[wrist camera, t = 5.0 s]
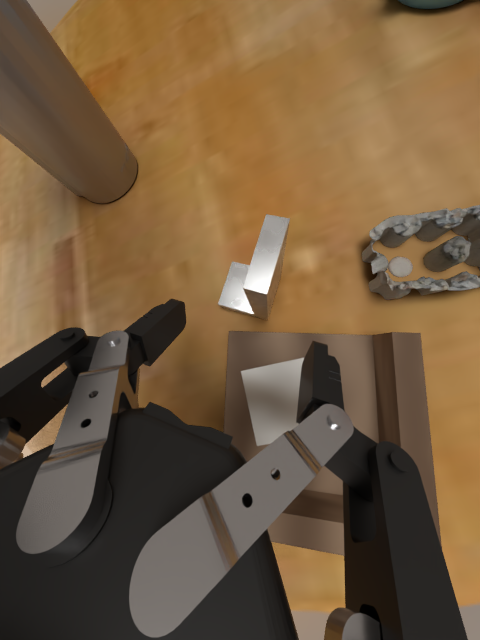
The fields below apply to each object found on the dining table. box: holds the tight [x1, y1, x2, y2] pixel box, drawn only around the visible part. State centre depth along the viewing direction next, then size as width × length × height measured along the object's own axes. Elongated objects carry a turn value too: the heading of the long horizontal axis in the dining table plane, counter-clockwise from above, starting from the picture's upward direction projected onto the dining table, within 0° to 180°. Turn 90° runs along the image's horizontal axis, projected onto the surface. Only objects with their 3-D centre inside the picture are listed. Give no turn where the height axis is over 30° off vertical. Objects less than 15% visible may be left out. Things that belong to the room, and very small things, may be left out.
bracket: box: [218, 214, 290, 320], centre depth 17 cm, size 6×5×10 cm
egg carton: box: [362, 205, 480, 300], centre depth 18 cm, size 11×8×4 cm
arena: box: [224, 331, 442, 556], centre depth 17 cm, size 16×16×4 cm
